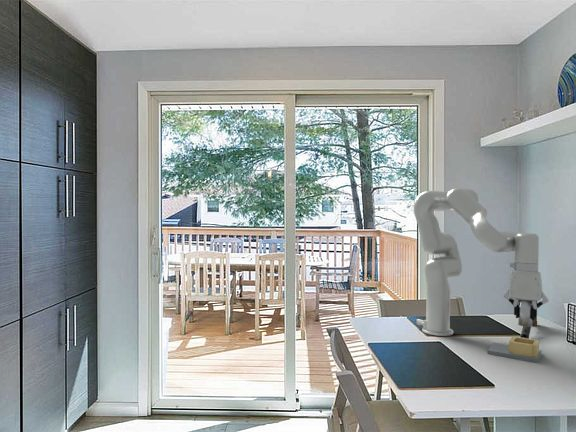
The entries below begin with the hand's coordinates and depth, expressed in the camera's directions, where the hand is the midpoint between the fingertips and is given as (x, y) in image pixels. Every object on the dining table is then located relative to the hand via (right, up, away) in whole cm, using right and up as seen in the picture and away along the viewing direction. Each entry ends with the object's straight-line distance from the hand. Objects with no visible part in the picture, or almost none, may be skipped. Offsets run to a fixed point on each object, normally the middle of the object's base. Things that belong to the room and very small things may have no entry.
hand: (525, 318), depth 160 cm
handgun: (+18, -14, +31) cm, 39 cm away
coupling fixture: (-3, -13, +2) cm, 14 cm away
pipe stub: (0, -3, 0) cm, 3 cm away
